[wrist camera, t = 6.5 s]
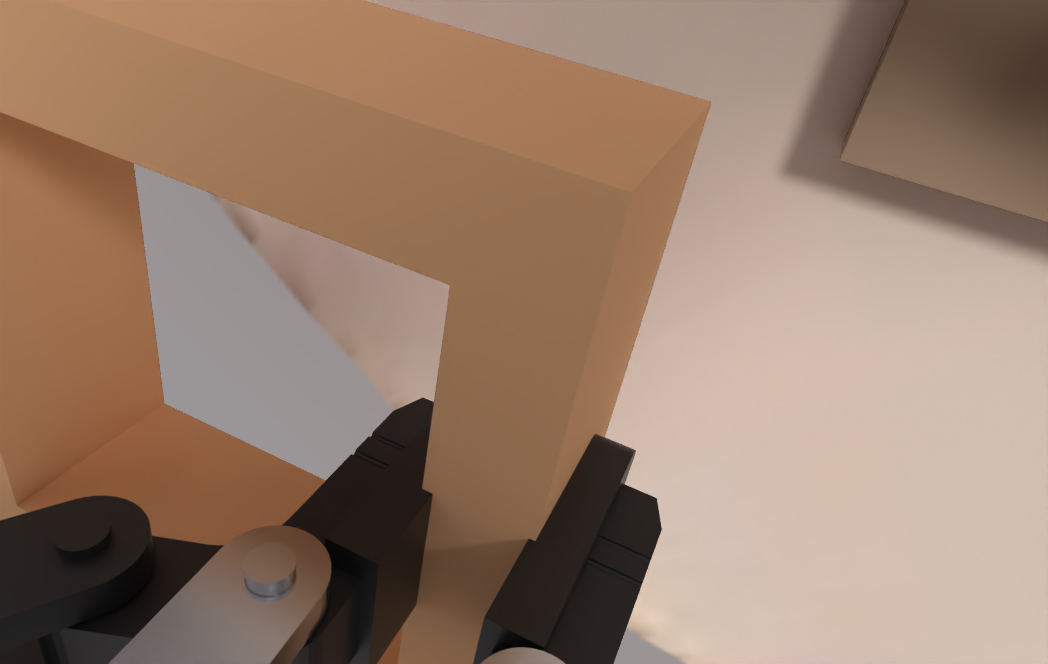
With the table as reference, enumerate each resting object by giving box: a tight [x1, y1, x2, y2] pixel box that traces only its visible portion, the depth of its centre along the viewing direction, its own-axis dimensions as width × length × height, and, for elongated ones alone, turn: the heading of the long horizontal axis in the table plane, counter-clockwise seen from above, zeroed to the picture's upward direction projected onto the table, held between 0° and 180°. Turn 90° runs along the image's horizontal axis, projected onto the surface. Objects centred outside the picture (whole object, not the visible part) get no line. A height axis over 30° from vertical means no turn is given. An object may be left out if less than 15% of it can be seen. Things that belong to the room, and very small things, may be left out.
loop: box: [0, 0, 711, 664], centre depth 12 cm, size 11×11×4 cm
